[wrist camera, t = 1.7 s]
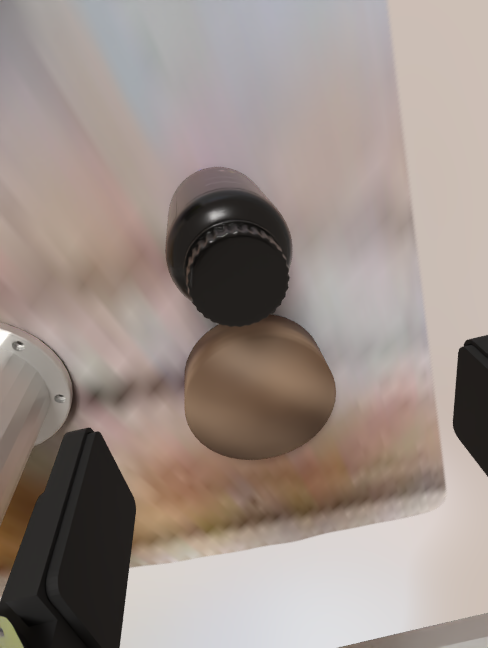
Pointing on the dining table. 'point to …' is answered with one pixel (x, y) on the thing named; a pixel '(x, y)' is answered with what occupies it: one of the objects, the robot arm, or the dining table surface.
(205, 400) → the walnut stand
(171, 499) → the dining table surface
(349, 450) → the dining table surface
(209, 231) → the supplement bottle
